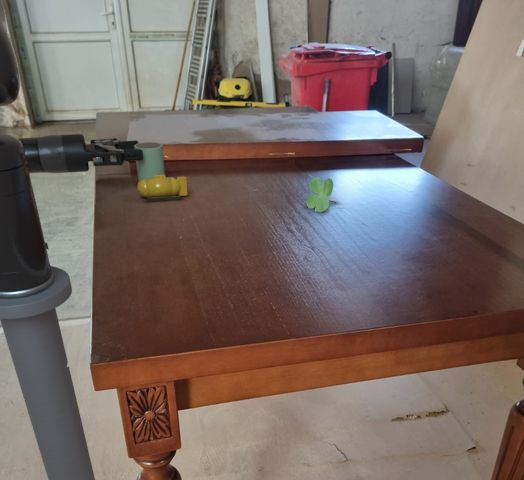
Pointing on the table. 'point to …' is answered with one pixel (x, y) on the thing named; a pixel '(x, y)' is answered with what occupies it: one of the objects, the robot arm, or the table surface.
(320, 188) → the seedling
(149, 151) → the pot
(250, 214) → the table surface
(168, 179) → the yellow toy submarine
